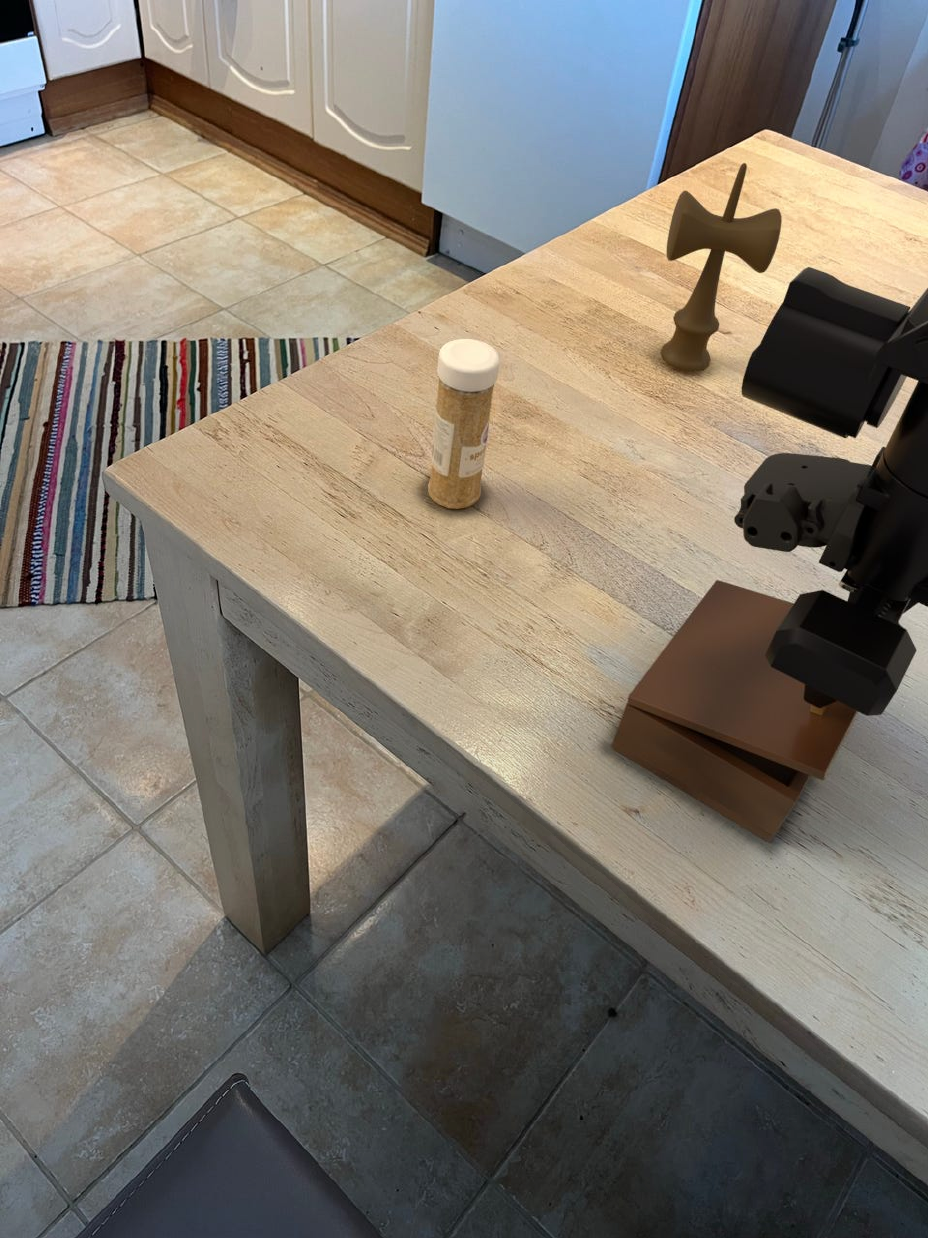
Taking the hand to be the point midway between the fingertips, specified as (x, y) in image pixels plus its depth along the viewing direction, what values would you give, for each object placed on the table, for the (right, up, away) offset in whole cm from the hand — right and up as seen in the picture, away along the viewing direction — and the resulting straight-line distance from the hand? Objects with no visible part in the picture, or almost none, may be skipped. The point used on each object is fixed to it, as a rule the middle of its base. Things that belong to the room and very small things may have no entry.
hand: (829, 672), depth 58 cm
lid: (-3, 0, +3) cm, 4 cm away
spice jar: (-23, +14, +22) cm, 35 cm away
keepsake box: (-4, -4, +8) cm, 10 cm away
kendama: (0, +29, +39) cm, 49 cm away
